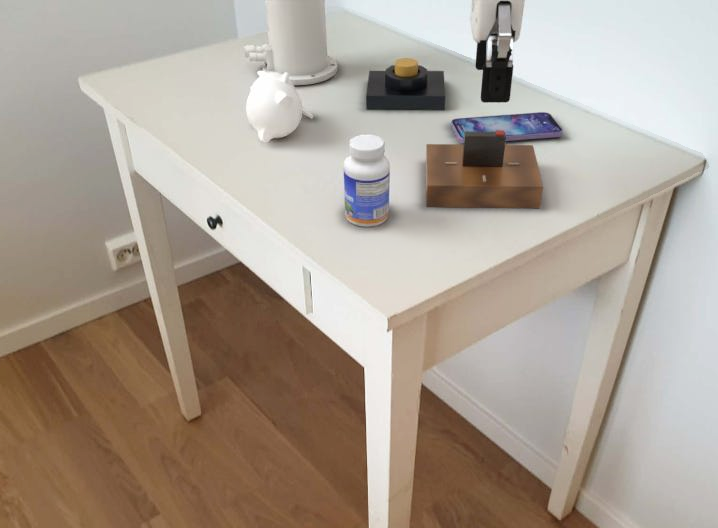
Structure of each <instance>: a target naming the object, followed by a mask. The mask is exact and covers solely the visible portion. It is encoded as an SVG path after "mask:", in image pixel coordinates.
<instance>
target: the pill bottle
mask: <svg viewBox="0 0 718 528" xmlns="http://www.w3.org/2000/svg"><path fill="white" fill-rule="evenodd" d="M348 146H349V147H348V153H349V155H348V156H347V157H346V158H345V160H344V162H343V185H344V186H343V187H344V188H343V189H344V192H343V193H344V214H345V218H346V220H347V221H348V222H349V223H350V224H352V225H354V226H358V227H363V228H364V227H365V228H366V227H367V228H370V227H376V226H380V225H382V224H383V223H385V222H386V221H387V220H388V218H389V217H390V179H391V178H390V176H391V164H390V160H389V158H388V157H387V156H386V155H385V141H384V139H383V138H382V137H381V136H378V135H375V134H359V135H355V136H353V137H352V138H351V139H350V140H349V143H348Z"/></svg>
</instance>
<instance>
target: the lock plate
mask: <svg viewBox="0 0 718 528" xmlns="http://www.w3.org/2000/svg"><path fill="white" fill-rule="evenodd" d="M463 145H464V144H463V143H460V144H455V143H453V144H449V143H445V144H444V143H441V144H440V143H427V144H426V147H425V206H426V207H427V208H486V209H487V208H489V209H490V208H491V209H494V208H495V209H497V208H498V209H540V208H541V205H542V197H543V191H544V183H543V180H542V175H541V172H540V168H539V164H538V159H537V155H536V152H535V147H534V145H533V144H505V151H504V159H503V166H502V167H497V166H463V164H462V158H463Z"/></svg>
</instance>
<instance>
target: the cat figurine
mask: <svg viewBox="0 0 718 528" xmlns="http://www.w3.org/2000/svg"><path fill="white" fill-rule="evenodd" d="M257 75H258V78H256V80H255V81H254V82H253V84H252V85H251V86H250V87H249V89H250V93H249V94H248V97H247V100H246V104H245V111H246V116H247V120H248V122H249V124H250V125H251V127H252V128H253V129H254V130H255V131H256V133H257V134H258V139H259V140H260V141H261V143H264V144H267V143H268V142H270V141H271V140H272V139H280V138H284V137H286V136H289V135H290V134H291V133H293V132H294V131H295V130H296V129H297V128H298V126H299V125H300V122H301V120H302V117H303V115H304V116H306V117H307V118H309V119H311V120H313V118H314V115H313V114H312V112H311V111H310V110H308V109H307V108H306V107H304V106H303V103H302V99H301V97H300V95H299V94H298V92H297V91H296V87H295V85H293V83H292V82H291V81H290V79H289V73H288V72H285V73H284V74H280V73H276V72H270V73H266V72H265V71H263V69H262V70H258V71H257Z"/></svg>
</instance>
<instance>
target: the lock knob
mask: <svg viewBox="0 0 718 528" xmlns="http://www.w3.org/2000/svg"><path fill="white" fill-rule="evenodd" d="M506 142H507V141H506V134H505V132H504V130H496V132H468V131H465V132H464V143H463V144H462V145H463V158H462V164H463V166H497V167H502V166H503V159H504V151H505V145H506Z"/></svg>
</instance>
